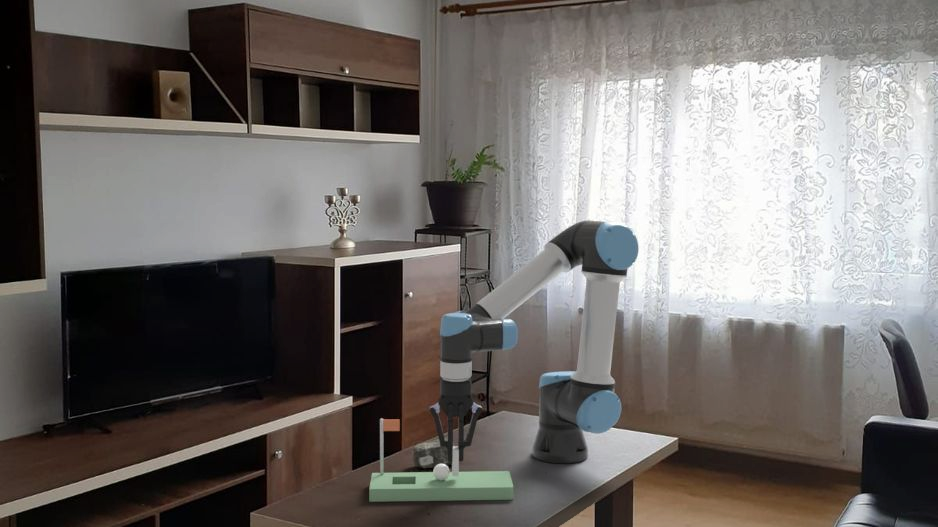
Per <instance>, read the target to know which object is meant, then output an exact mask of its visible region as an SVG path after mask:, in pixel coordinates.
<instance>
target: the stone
mask: <svg viewBox="0 0 938 527" xmlns="http://www.w3.org/2000/svg"><path fill="white" fill-rule="evenodd" d="M444 438H445V440H446V441H448V436H447V437H444ZM453 446H455V443H454V442H453ZM411 457H412V460H413V464H414V466H416V467H417V468H422V469H431V468H433V469H434V467H435V466H436V465H438V464H445V465H447V466H450V465H452V462H449V461H448V449H447V448H446V447H444V446H443V447H442V446H441V445H440V441H439V438H437V439H433V440H429V441H428V442H422V443H418V444H416V445H415V446H414V448H413V449H412V450H411Z"/></svg>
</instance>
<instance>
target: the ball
mask: <svg viewBox="0 0 938 527" xmlns="http://www.w3.org/2000/svg"><path fill="white" fill-rule="evenodd" d="M432 472H433V475H434V477H435V478H436V479H437V480H440V481H442V480H445V479H447V478H448V476H449V474H450V472H451V471H450V468H449V465H445V464H438V465H436V466H435V467H434V468H433V471H432Z"/></svg>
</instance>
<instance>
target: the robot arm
mask: <svg viewBox="0 0 938 527" xmlns="http://www.w3.org/2000/svg"><path fill="white" fill-rule="evenodd" d="M637 238H638V237H637V236H636V234H635V233H634V232H633V230H632V229H631V228H630V227H629V226H627V225H625V224H624V223H619V222H614V221H598V220H597V221H596V220H588V219H587V220H583V221H579V222H576V223H574V224H572V225H570V226H569V227H566V228H565V229H563V230H562V231H560V233H558V234H557V235H556V236H554V237H553V238H551V239H550V240H549V241H548V242H546V243H545V244H544V250H543V251H541V252H540V253H539V254H538V255H536V256H534V258H532V259H531V260H530V261H528V262H527V263H526V264H525V265H523V266H522V267H520V269H518V270H517V271H516V272H514V273H513V274H512V275H511V276H510V277H508V278H507V279H505V280H504V281H503V282H502V283H500V284H499V285H498V286H497V287H495V288H494V289H493V290H492V291H490V292H489V293H487V294H486V295H485V296H484V297H483V298H481V299H480V300H479V301H477V302H476V303H475V304H474V305H472V306H471V307H470V308H469V309H467V310H458V311H456V312H450V313H445V314H443V315H442V317H441V319H440V328H439V330H440V331H439V336H440V361H439V362H440V363H439V364H440V366H439V367H440V368H439V370H440V371H439V372H440V375H439V376H440V377H441V379H440V380H439V382H440V384H439V388H440V389H439V394H440V395H439V397H438V399H437V402H436V403H435V404H434V405H430V406H429V413H430V414H431V415H432V417H433V419H434V420H433V421H434V423H435V424H434V425H435V428H436V432H437V435H438V436H437V437H438V439H439V441H440V445H441V446H442V447H443V446H444V447H446V448H447V449H448V461H449V462H452V464H451V472H452V476H459V472H460V466H459V465H460V464H459V463H460V462H463V461H464V456H465V455H464V450H465V448H466V447H470V446H471V445H472V442H473V438H474V434H475V431H476V426H477V423H478V418H479V416H480V415H481V414H482V412H483V407H482V405H480V404H477V403H475V402H474V398H473V397H472V387H473V385H472V379H471V377H472V376H473V375H472V374H473V373H472V371H473V370H472V368H473V367H472V366H473V364H472V363H473V362H472V361H473V360H472V359H473V353H478V352H479V353H481V352H492V351H493V352H494V351H495V352H496V351H502V352H503V351H504V350H505V351H506V350H511V349H513V348H514V347H516V345H517V343H518V340H519V329H518V327H517V324H516V322H515V321H514V320H513V319H510V318H506V317H508V316H509V315H510V314H511V313H512V312H513V311H515V310H516V309H518V307H520V306H522V304H524V303H525V302H526V301H527V300H529V299H530V298H531V297H533V296H534V295H535V294H536V293H537V292H539V291H540V290H542V289H543V288H544V287H545V286H547V285H548V284H549V283H550V282H551V281H553V280H554V279H555V278H556V277H558V276H559V275H560V274H562V273H569V272H570V271H572V270H574V268H576V267H579V266H581V273H582V276H584V277H585V279H586V282H585V292H584V301H583V308H582V309H583V311H582V320H581V328H580V339H579V349H578V357H577V364H576V365H577V366H576V371H573V370H572V371H571V370H569V371H565V370H563V371H554V372H553V371H552V372H551V371H550V372H546V373H543V374H541V375H540V377H539V384H538V391H539V392H538V394H539V395H538V396H539V398H538V399H539V401H538V402H539V403H538V429H537V432H536V435H535V437H534V440H533V444H532V451H531V452H532V457H534V458H535V459H536V460H538V461H542V462H545V463H552V464H572V463H573V464H574V463H579V462H582V461H585V460H587V458H588V457H589V454H588V453H589V447H588V444H587V442H586V438H585V434H584V432H586V433H591V434H595V435H596V434H597V435H599V434H603V433H606V432H608V431H610V430H611V429H612V427H614V426H615V425H616V424H617V422H618V421H619V418H620V416H621V414H622V403H621V399H620V398H619V397H618V395H617V394H616V393H615V386H616V381H615V379H614V378H613V377H612V375H611V369H612V360H613V351H614V350H613V349H614V341H615V331H616V322H617V313H618V304H619V295H620V294H619V293H620V284H621V282H622V281H623V280H625V279H626V277H627V275H628V269H629V268H630V267H632V266H633V263H635V262H636V260H637V258H638V255H639V241H638V239H637ZM440 408H441V410H442V411H443V413H444V414H445V415H446V416H447V437H448V441H446V440H445V438H446V437H445V435H444V431H443V426H442V422H441V419H440V415H439V414H440ZM471 408H472V409H471ZM470 410H471V412H472V415H471V417H470V418H471V419H470V422H469V426H468V429H467V433H466V438H464V437H465V433H464V432H465V427H464V425H465V416H466V415H467V413H468V412H469V411H470ZM454 417H455V418H456V417H457V418H458V419H457V420H458V421H457V422H458V425H457V428H458V429H457V431H458V432H457V434H458V436H457V438H458V441H457V444H458V445H457V446H455V445H454V446H453V443H454ZM583 431H584V432H583Z"/></svg>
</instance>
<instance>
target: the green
mask: <svg viewBox="0 0 938 527" xmlns="http://www.w3.org/2000/svg"><path fill="white" fill-rule="evenodd" d="M400 422H401V421H400V419H398V418H397V419H393V418H392V419H384V418H380V419H379V459H380V460H379V464H380V465H379V469H380V470H379V472H372V473H371V479H370V483H369V489H368V490H369V492H368V495H369V496H368V499H369V503H370V502H371V503H372V502H373V503H375V502H379V503H380V502H381V503H382V502H429V501H431V502H432V501H433V502H434V501H435V502H439V501H441V502H442V501H447V502H449V501H500V500H501V501H502V500H503V501H504V500H506V501H508V500H509V501H510V500H514V498H515V496H514V493H515V492H514V491H515V490H514V483H513V479H512V477H511V472H510V470H494V471H490V470H489V471H488V470H487V471H485V470H483V471H482V470H481V471H479V470H478V471H459V476H452V471H450V474H449V476H448V478H447V479H445V480H442V481H440V480H437V479H436V478H435V477H434V475H433V471H428V472H427V471H420V472H418V471H416V472H415V471H414V472H413V471H410V472H406V471H405V472H385V471H384V469H385V468H384V467H385V466H384V432H400V429H401V428H400V427H401V426H400V425H401V423H400Z"/></svg>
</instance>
